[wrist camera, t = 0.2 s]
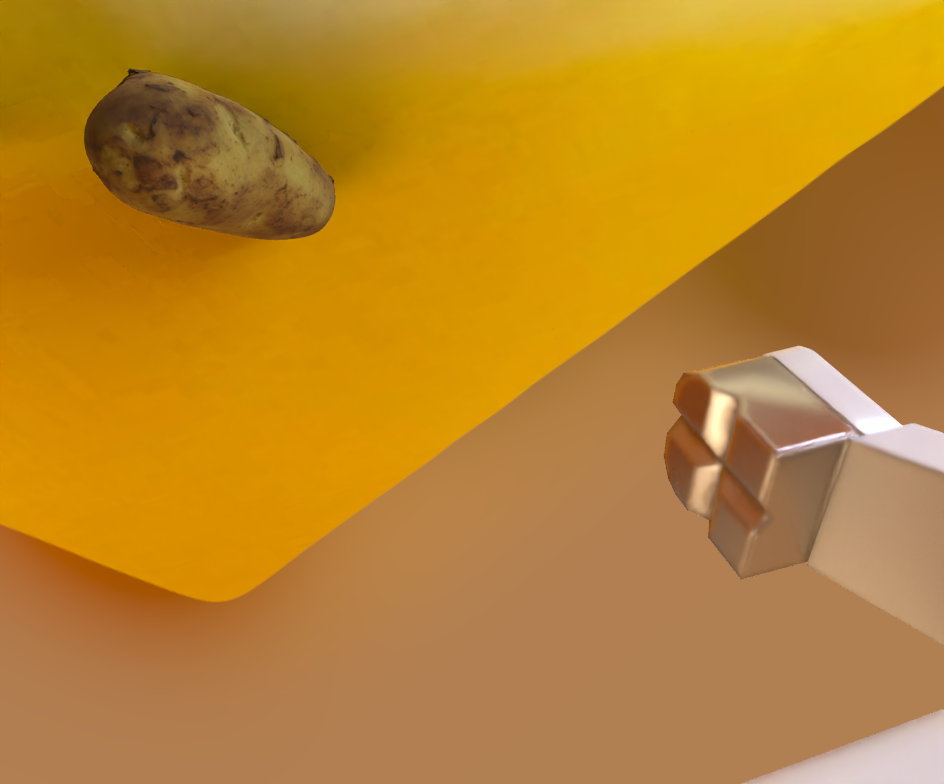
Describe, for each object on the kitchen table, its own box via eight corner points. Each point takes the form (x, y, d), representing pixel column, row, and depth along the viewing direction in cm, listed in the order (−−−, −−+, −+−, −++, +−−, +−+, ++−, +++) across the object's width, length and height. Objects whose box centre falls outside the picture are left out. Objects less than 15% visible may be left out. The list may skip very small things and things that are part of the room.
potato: (224, 260, 51) (246, 344, 46) (49, 88, 42) (50, 168, 36) (340, 178, 50) (377, 254, 45) (187, -16, 41) (210, 50, 35)
